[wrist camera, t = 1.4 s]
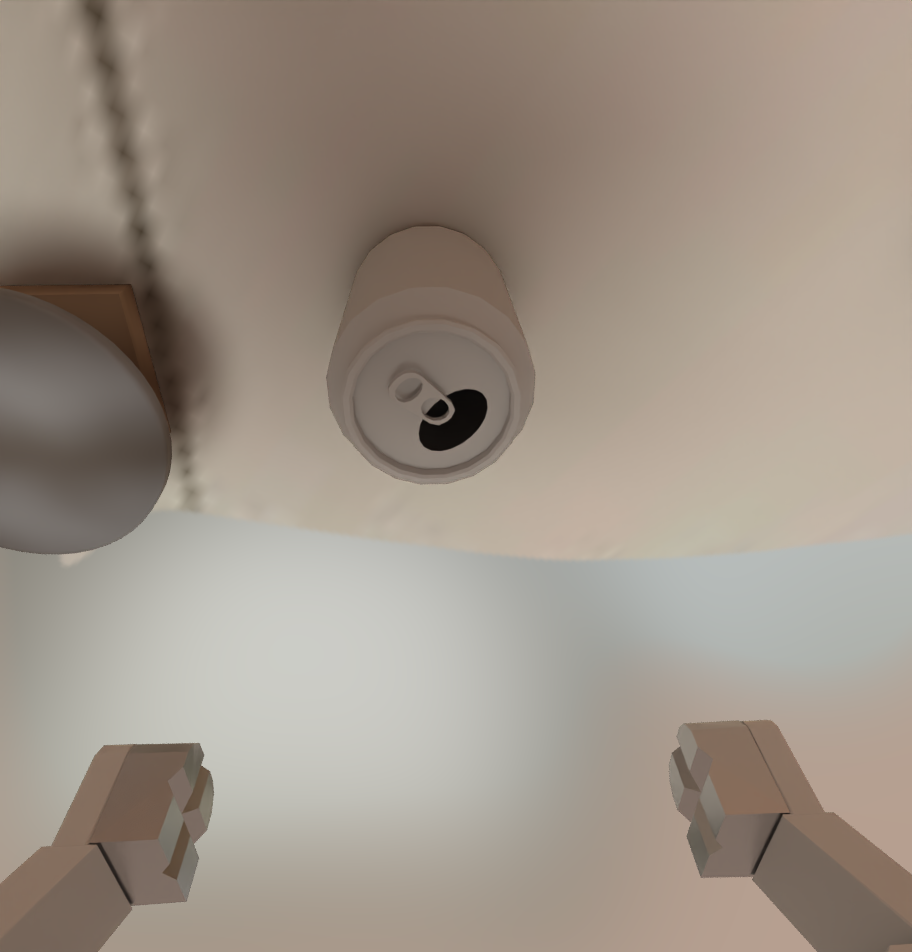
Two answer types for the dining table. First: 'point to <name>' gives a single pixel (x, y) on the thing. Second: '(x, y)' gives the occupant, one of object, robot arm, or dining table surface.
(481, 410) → the can
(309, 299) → the dining table surface
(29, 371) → the scale
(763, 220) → the dining table surface
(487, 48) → the dining table surface
